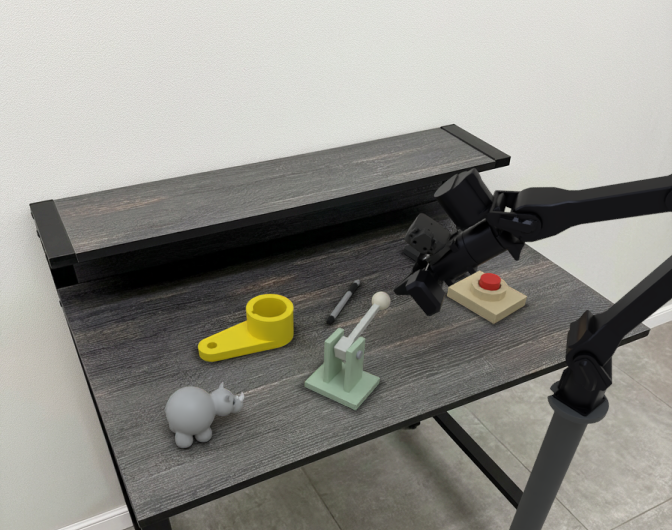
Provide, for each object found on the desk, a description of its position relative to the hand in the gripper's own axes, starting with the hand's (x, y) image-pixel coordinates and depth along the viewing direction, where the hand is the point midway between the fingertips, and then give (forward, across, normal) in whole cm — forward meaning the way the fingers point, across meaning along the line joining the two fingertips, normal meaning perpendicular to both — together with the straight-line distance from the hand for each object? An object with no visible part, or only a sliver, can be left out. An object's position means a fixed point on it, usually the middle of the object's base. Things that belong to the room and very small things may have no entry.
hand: (395, 291), depth 104 cm
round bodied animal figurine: (+24, +28, -5) cm, 38 cm away
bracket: (+13, +11, +6) cm, 18 cm away
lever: (+6, +5, +1) cm, 8 cm away
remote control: (+8, -32, +10) cm, 35 cm away
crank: (+27, +7, -8) cm, 29 cm away
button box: (-1, -23, +19) cm, 30 cm away
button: (-4, -23, +17) cm, 28 cm away
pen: (+18, -11, +1) cm, 21 cm away
